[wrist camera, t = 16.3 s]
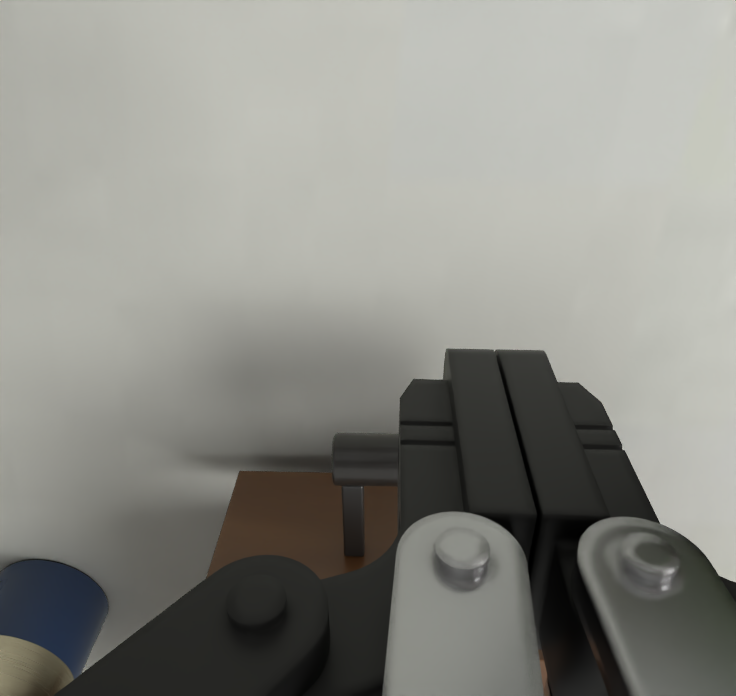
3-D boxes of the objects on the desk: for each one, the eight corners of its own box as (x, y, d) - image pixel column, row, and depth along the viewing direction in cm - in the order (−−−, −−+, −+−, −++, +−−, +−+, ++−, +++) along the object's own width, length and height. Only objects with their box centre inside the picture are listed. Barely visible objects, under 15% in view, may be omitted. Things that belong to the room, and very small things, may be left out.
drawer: (224, 368, 20) (153, 533, 14) (657, 373, 19) (772, 546, 14) (271, 689, 29) (239, 873, 23) (570, 697, 28) (616, 887, 22)
